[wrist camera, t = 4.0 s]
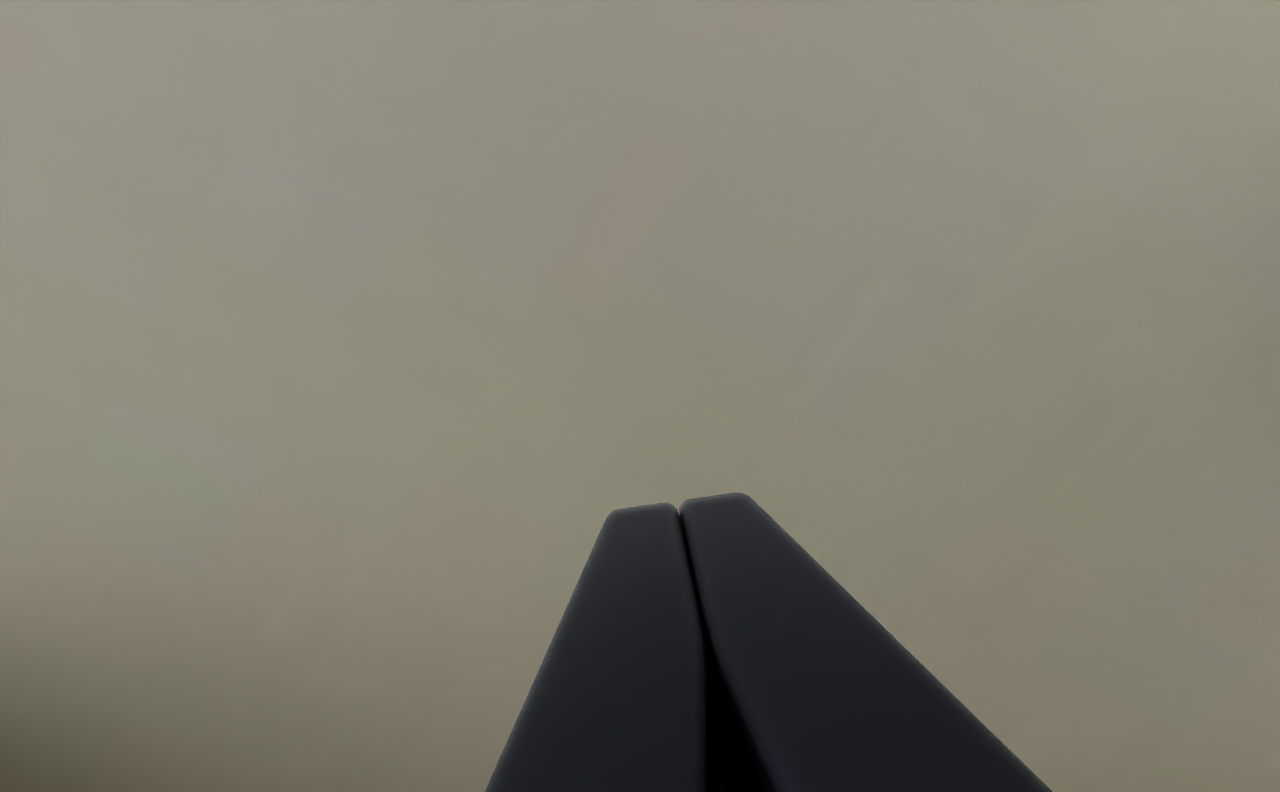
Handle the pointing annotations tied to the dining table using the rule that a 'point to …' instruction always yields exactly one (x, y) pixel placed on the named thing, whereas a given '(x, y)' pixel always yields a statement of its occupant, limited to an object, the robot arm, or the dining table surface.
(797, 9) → the dining table surface
